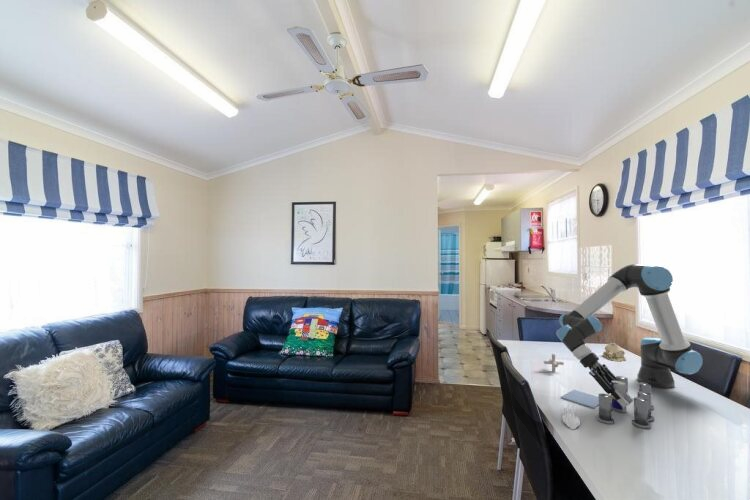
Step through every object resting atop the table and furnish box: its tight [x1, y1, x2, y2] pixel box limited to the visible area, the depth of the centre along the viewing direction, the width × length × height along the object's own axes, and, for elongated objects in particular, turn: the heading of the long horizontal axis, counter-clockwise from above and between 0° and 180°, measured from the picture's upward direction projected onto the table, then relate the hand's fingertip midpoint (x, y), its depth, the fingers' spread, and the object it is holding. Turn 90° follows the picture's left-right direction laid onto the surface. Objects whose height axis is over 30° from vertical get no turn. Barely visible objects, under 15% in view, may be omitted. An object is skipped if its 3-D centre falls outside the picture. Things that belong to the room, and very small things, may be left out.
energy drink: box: [610, 380, 627, 414], centre depth 146 cm, size 5×5×12 cm
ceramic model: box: [602, 342, 627, 362], centre depth 219 cm, size 14×11×10 cm
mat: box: [560, 389, 599, 409], centre depth 158 cm, size 14×14×1 cm
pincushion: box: [561, 408, 581, 430], centre depth 136 cm, size 12×6×6 cm, turn 154°
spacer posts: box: [596, 375, 655, 430], centre depth 143 cm, size 19×35×10 cm, turn 127°
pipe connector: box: [543, 353, 565, 373], centre depth 195 cm, size 10×10×10 cm
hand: (628, 404), depth 144 cm, fingers closed on energy drink, 5 cm apart
